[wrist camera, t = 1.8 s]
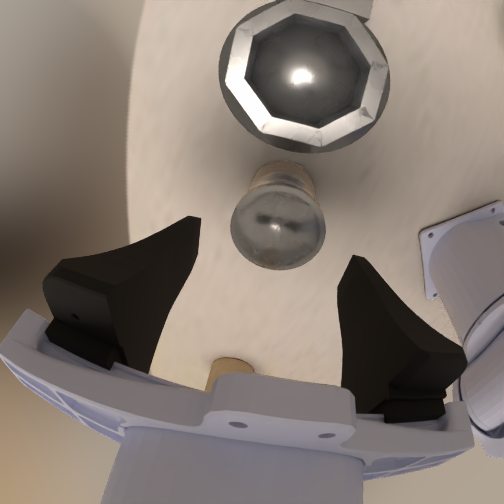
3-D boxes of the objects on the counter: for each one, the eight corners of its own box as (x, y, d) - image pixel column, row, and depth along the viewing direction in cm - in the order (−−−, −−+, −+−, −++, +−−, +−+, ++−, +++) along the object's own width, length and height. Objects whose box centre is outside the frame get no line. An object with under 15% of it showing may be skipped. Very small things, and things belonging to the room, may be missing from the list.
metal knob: (300, 145, 17) (303, 171, 12) (327, 207, 19) (337, 254, 14) (235, 174, 19) (213, 209, 14) (266, 230, 21) (256, 280, 16)
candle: (203, 360, 33) (183, 429, 25) (240, 354, 31) (224, 430, 23) (226, 381, 35) (211, 445, 27) (261, 376, 33) (251, 446, 25)
